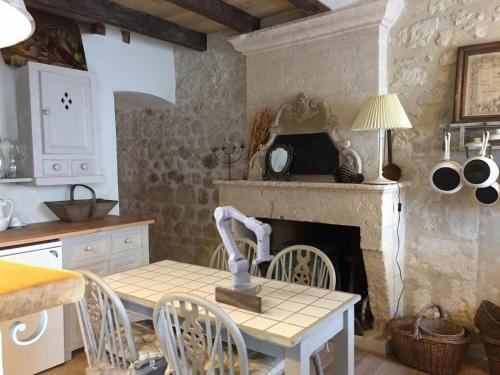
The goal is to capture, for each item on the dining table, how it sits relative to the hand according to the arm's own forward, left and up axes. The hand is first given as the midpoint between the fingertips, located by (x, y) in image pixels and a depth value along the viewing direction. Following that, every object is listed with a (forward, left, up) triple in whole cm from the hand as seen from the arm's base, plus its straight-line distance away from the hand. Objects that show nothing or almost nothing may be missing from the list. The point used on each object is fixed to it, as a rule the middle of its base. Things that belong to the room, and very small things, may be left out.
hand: (263, 276), depth 193 cm
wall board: (+19, 0, -9) cm, 22 cm away
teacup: (+12, 0, -10) cm, 15 cm away
